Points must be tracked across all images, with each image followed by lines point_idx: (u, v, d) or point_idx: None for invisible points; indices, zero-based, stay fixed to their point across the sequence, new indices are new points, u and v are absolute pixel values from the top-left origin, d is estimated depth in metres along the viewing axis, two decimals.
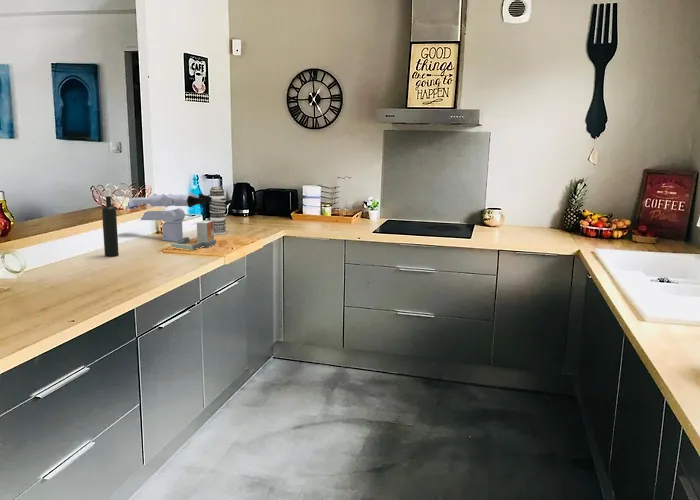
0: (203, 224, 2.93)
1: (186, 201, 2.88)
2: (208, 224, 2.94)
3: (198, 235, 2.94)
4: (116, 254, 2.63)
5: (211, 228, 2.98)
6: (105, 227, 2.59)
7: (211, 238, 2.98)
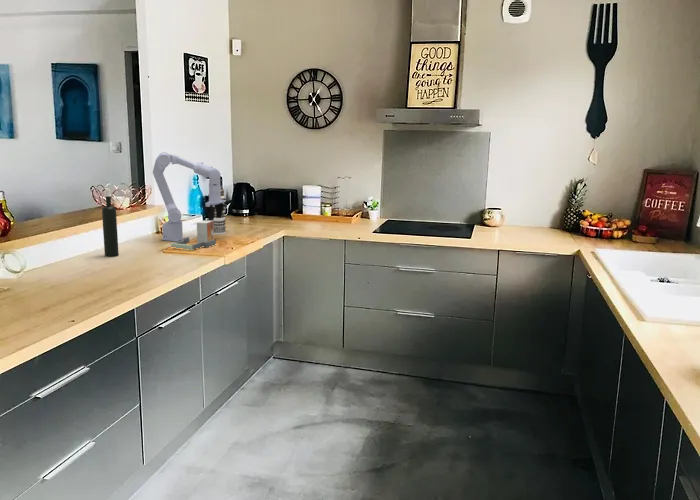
0: (203, 224, 2.93)
1: None
2: (208, 224, 2.94)
3: (198, 235, 2.94)
4: (116, 254, 2.63)
5: (211, 228, 2.98)
6: (105, 227, 2.59)
7: (211, 238, 2.98)
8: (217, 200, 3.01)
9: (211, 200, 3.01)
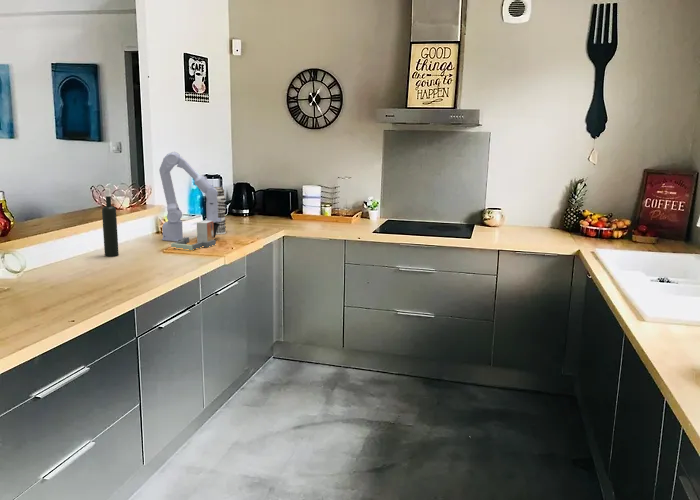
0: (203, 224, 2.93)
1: None
2: (208, 224, 2.94)
3: (198, 235, 2.94)
4: (116, 254, 2.63)
5: (211, 228, 2.98)
6: (105, 227, 2.59)
7: (211, 238, 2.98)
8: (214, 219, 3.00)
9: (208, 219, 3.00)
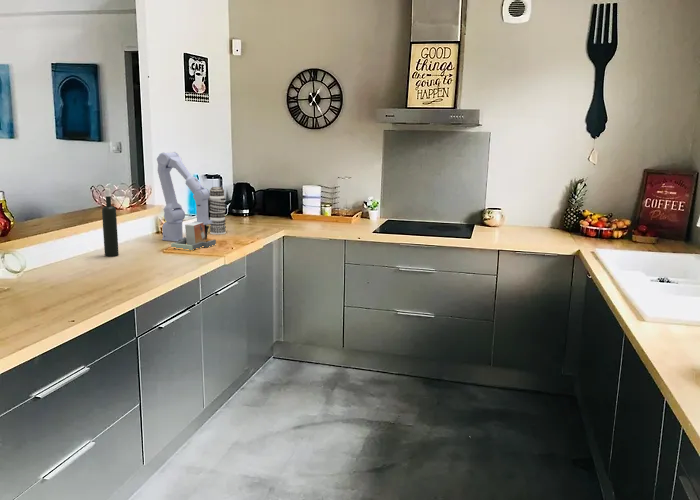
0: (190, 226, 2.85)
1: None
2: (196, 226, 2.86)
3: (187, 237, 2.88)
4: (116, 254, 2.63)
5: (201, 230, 2.90)
6: (105, 227, 2.59)
7: (201, 240, 2.91)
8: (205, 221, 2.92)
9: (199, 221, 2.91)
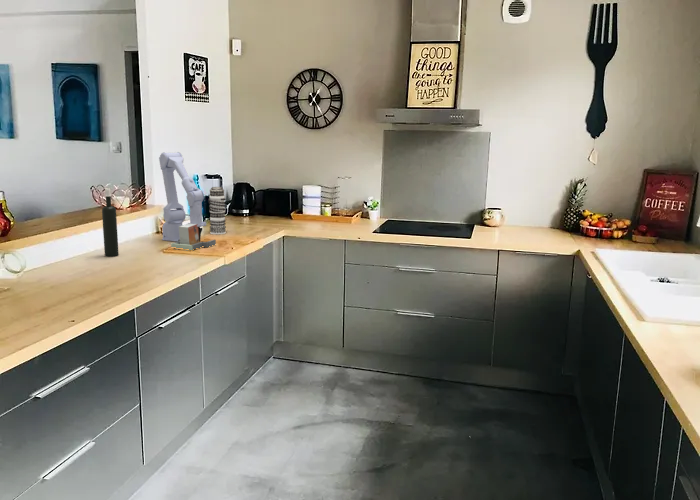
0: (184, 228, 2.80)
1: None
2: (190, 228, 2.81)
3: (180, 239, 2.83)
4: (116, 254, 2.63)
5: (195, 231, 2.85)
6: (105, 227, 2.59)
7: (195, 242, 2.86)
8: (198, 223, 2.87)
9: (192, 223, 2.86)
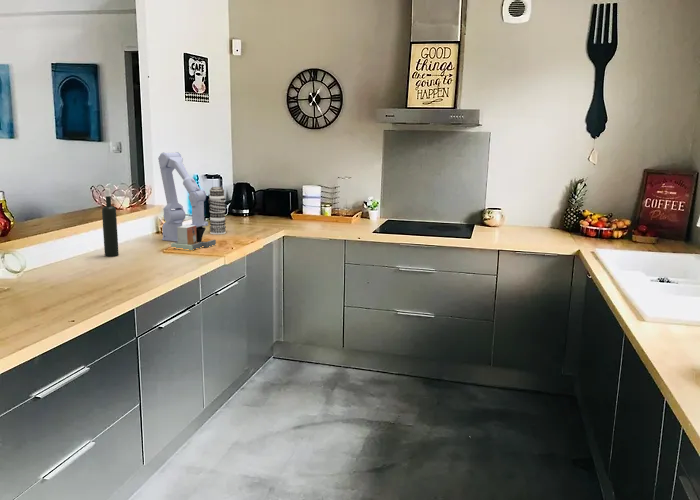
0: (183, 229, 2.79)
1: None
2: (189, 229, 2.80)
3: (178, 240, 2.81)
4: (116, 254, 2.63)
5: (193, 233, 2.83)
6: (105, 227, 2.59)
7: None
8: (200, 223, 2.88)
9: (194, 223, 2.88)
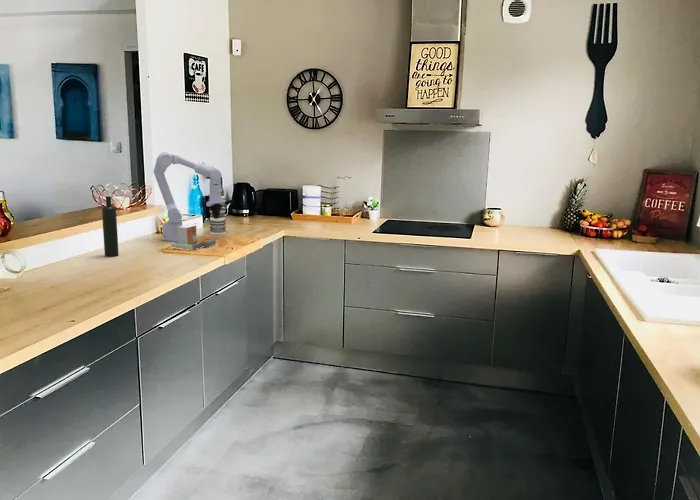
0: (183, 229, 2.79)
1: (209, 206, 2.99)
2: (189, 229, 2.80)
3: (178, 240, 2.81)
4: (116, 254, 2.63)
5: (193, 233, 2.83)
6: (105, 227, 2.59)
7: None
8: (218, 200, 3.02)
9: (212, 200, 3.02)
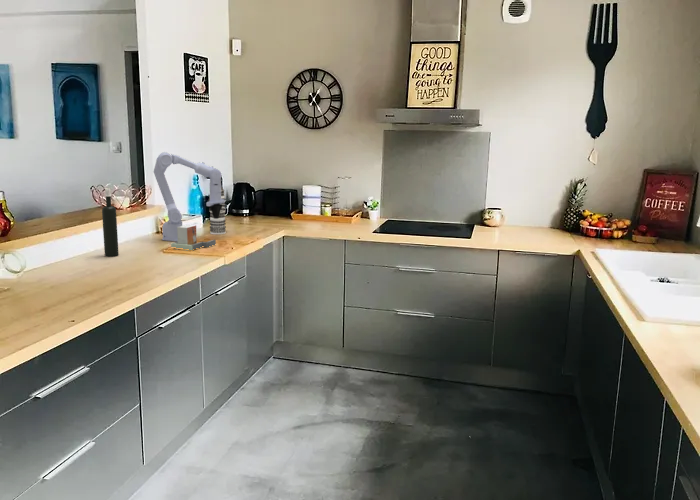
0: (183, 229, 2.79)
1: (209, 206, 2.99)
2: (189, 229, 2.80)
3: (178, 240, 2.81)
4: (116, 254, 2.63)
5: (193, 233, 2.83)
6: (105, 227, 2.59)
7: None
8: (218, 200, 3.02)
9: (212, 200, 3.02)
